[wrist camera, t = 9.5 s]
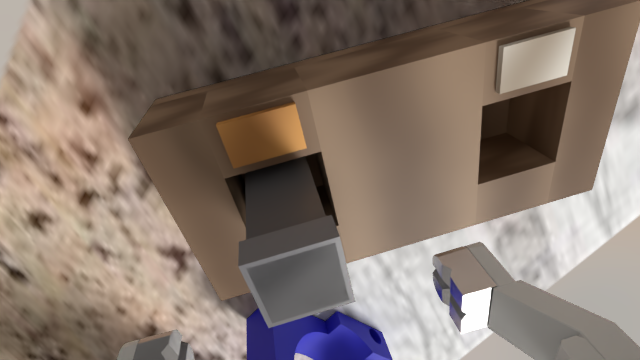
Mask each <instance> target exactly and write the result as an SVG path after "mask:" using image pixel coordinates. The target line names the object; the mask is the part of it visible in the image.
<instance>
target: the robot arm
mask: <svg viewBox="0 0 640 360" xmlns="http://www.w3.org/2000/svg"><path fill="white" fill-rule="evenodd" d="M433 265H434V267H435V268H436V269H435V271H434V272H433V281H434V285H435V289H436V291H437V293H438V295H439V297H440V299H441V301H442V302H443V303H445V304H447V305H448V306H450V316H451V318H452V319H453V321H454V323H455V325H456V326H457V328H458V330H459V331H460V333H465V332H468V331H472V330H476V329H480V328H483V327H487V326H488V328H489V329H491V330H492V331H493V332H495V333H496V334H498V335H499V336H501V337H502V338H504V339H505V340H507V341H508V342H510V343H511V344H512V345H514V346H515V347H517V348H518V349H520V350H521V351H523V352H524V353H526V354H527V355H529V356H530V357H531V358H533V359H534V360H640V347H639V346H638V345H637V344H636V343H635V342H634V341H633V340H632V339H631V338H630V337H629V336H627V334H626V333H624V331H623V330H622V329H620V328H619V327H618V326H617V325H616V324H615V323H614V322H612V321H609V320H607V319H605V318H603V317H601V316H599V315H596V314H594V313H592V312H590V311H588V310H585V309H583V308H581V307H579V306H577V305H574V304H572V303H570V302H568V301H566V300H563V299H561V298H559V297H557V296H555V295H552V294H550V293H548V292H546V291H543V290H541V289H539V288H537V287H535V286H532V285H530V284H528V283H526V282H524V281H521V280H519V281H515V280H514V279H513V278H512V276H511V275H510V274H509V273H508V272H507V271H506V269H505V268H504V267H503V266H502V265H501V264H500V263H499V261H498V260H497V259H496V258H495V257H494V256H493V254H492V253H491V252H490V251H489V250H488V249H487V247H486V246H485V245H484V244H483V243H481V242H478V243H474V244H471V245H467V246H464V247H459V248H456V249H453V250H449V251H446V252H443V253H439V254H436V255H434V256H433ZM181 339H182V335H181V334H180V332H179V331H178V330H173V331H169V332H165V333H161V334H157V335H154V336H150V337H146V338H142V339H138V340H135V341H131V342H127V343H124V345H123V346H122V347H121V349H120V351H119V354H118V357H117V360H194V354H193V351H192V348H191V347H190V345H189V344H188V343H185V342H182V341H181Z"/></svg>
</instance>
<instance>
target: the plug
mask: <svg viewBox="0 0 640 360" xmlns="http://www.w3.org/2000/svg"><path fill="white" fill-rule="evenodd" d="M245 194H246V240H243V241H240V242H239V256H238V267H239V269H240V271H241V273H242V275H243V277H244V279H245V281H246V283H247V285H248V287H249V289H250V291H251V293H252V295H253V297H254V299H255V302H256V304H257V306H258V308H259V310H260V312H261V314H262V316H263V318H264V320H265V322H266V324H267V326H268V328H271V327H274V326H277V325H281V324H284V323H287V322H291V321H294V320H297V319H300V318H304V317H307V316H310V315H313V314H317V313H320V312H323V311H326V310H330V309H333V308H336V307H339V306H343V305H346V304H349V303H352V302H355V298H354V294H353V290H352V286H351V281H350V277H349V273H348V269H347V265H346V260H345V256H344V252H343V248H342V243H341V239H340V236H339V233H338V230H337V227H336V225H335V222H334V219H333V217H332V215H329V216H326V215H325V212H324V209H323V206H322V203H321V200H320V197H319V195H318V192H317V189H316V186H315V183H314V180H313V177H312V174H311V171H310V168H309V165H308V163H307V160H306V157H305V156H303V157H300V158H296V159H293V160H289V161H285V162H282V163H278V164H275V165H271V166H268V167H264V168H261V169H257V170H253V171H250V172H246V173H245Z"/></svg>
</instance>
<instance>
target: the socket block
mask: <svg viewBox="0 0 640 360" xmlns="http://www.w3.org/2000/svg"><path fill="white" fill-rule="evenodd" d="M639 22H640V0H528V1H524V2H520V3H517V4H513V5H509V6H505V7H502V8H498V9H494V10H490V11H487V12H483V13H479V14H475V15H471V16H468V17H464V18H460V19H456V20H453V21H449V22H445V23H441V24H438V25H434V26H430V27H426V28H422V29H419V30H415V31H411V32H407V33H404V34H400V35H396V36H392V37H389V38H385V39H381V40H377V41H374V42H370V43H366V44H362V45H358V46H355V47H351V48H347V49H343V50H340V51H336V52H332V53H328V54H325V55H321V56H317V57H313V58H310V59H306V60H302V61H298V62H294V63H291V64H287V65H283V66H279V67H276V68H272V69H268V70H264V71H261V72H257V73H253V74H249V75H246V76H242V77H238V78H234V79H230V80H227V81H223V82H219V83H215V84H212V85H208V86H204V87H200V88H197V89H193V90H189V91H185V92H182V93H178V94H174V95H170V96H166V97H163V98H159V99H156V100H155V101H154V103H153V104H152V105H151V107H150V108H149V110H148V111H147V113H146V114H145V115H144V117H143V118H142V120H141V121H140V123H139V124H138V125H137V127H136V128H135V130H134V131H133V133H132V134H131V135H130V137H129V138H128V140H129V142H130V144H131V145H132V147H133V149H134V151H135V152H136V154H137V156H138V158H139V159H140V161H141V163H142V165H143V166H144V168H145V170H146V171H147V173H148V175H149V177H150V178H151V180H152V182H153V184H154V185H155V187H156V189H157V191H158V192H159V194H160V196H161V197H162V199H163V201H164V203H165V204H166V206H167V208H168V210H169V211H170V213H171V215H172V217H173V218H174V220H175V222H176V223H177V225H178V227H179V229H180V230H181V232H182V234H183V236H184V237H185V239H186V241H187V243H188V244H189V246H190V248H191V249H192V251H193V253H194V255H195V256H196V258H197V260H198V262H199V263H200V265H201V267H202V269H203V270H204V272H205V274H206V275H207V277H208V279H209V281H210V282H211V284H212V286H213V288H214V289H215V291H216V293H217V295H218V296H219V298H220V300H221V301H223V300H226V299H230V298H233V297H236V296H240V295H243V294H246V293H250V292H251V291H250V289H249V287H248V285H247V283H246V281H245V279H244V277H243V275H242V273H241V271H240V269H239V267H238V256H239V242H240V241H243V240H246V194H245V173H246V172H250V171H253V170H257V169H261V168H264V167H268V166H271V165H275V164H278V163H282V162H285V161H289V160H293V159H296V158H300V157H303V156H305V157H306V160H307V163H308V165H309V168H310V171H311V174H312V177H313V180H314V183H315V186H316V189H317V192H318V195H319V197H320V200H321V203H322V206H323V209H324V212H325V215H326V216H329V215H332V217H333V219H334V222H335V225H336V227H337V230H338V233H339V236H340V239H341V243H342V248H343V252H344V256H345V260H346V263H349V262H353V261H356V260H359V259H363V258H366V257H369V256H373V255H376V254H379V253H383V252H386V251H389V250H393V249H396V248H399V247H403V246H406V245H409V244H413V243H416V242H419V241H423V240H426V239H429V238H433V237H436V236H439V235H443V234H446V233H449V232H453V231H456V230H459V229H463V228H466V227H469V226H473V225H476V224H479V223H483V222H486V221H489V220H493V219H496V218H499V217H503V216H506V215H509V214H513V213H516V212H519V211H523V210H526V209H529V208H533V207H536V206H539V205H543V204H546V203H549V202H553V201H556V200H559V199H563V198H566V197H569V196H573V195H576V194H579V193H583V192H586V191H589V190H592V188H593V184H594V181H595V177H596V174H597V170H598V167H599V163H600V160H601V156H602V153H603V149H604V146H605V142H606V139H607V135H608V132H609V128H610V124H611V121H612V117H613V114H614V110H615V107H616V103H617V100H618V96H619V93H620V89H621V86H622V82H623V79H624V75H625V72H626V68H627V65H628V61H629V58H630V54H631V50H632V47H633V43H634V40H635V36H636V33H637V29H638V26H639Z"/></svg>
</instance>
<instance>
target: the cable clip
mask: <svg viewBox="0 0 640 360" xmlns="http://www.w3.org/2000/svg"><path fill="white" fill-rule="evenodd" d="M295 353H300V354H303V355H306V356H308V357H310V358H312V359H314V360H392V357H391V355H390V352H389V349H388V347H387V344H386V342H385V339H384V337H383V334H382V332H380V331H378V330H376V329H374V328H372V327H370V326H368V325H366V324H363V323H361V322H359V321H357V320H355V319H353V318H351V317H349V316H347V315H345V314H343V313H340V312H338V311H336V312H335V313H334V314H333V315H332V316H331V317H330V318H328V319H327V320H326V321H324V320H321V319H319V318H317V317H315V316H312V315H310V316H307V317H304V318H300V319H297V320H294V321H291V322H287V323H284V324H281V325H277V326H274V327H271V328H268V326H267V324H266V322H265V320H264V318H263V316H262V314H261V312H260V310H259V308H258V309H257V310H256V311H255V312H254V313H253V314H252V315H251V316H250V317H248V318H247V360H294V355H295Z"/></svg>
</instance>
